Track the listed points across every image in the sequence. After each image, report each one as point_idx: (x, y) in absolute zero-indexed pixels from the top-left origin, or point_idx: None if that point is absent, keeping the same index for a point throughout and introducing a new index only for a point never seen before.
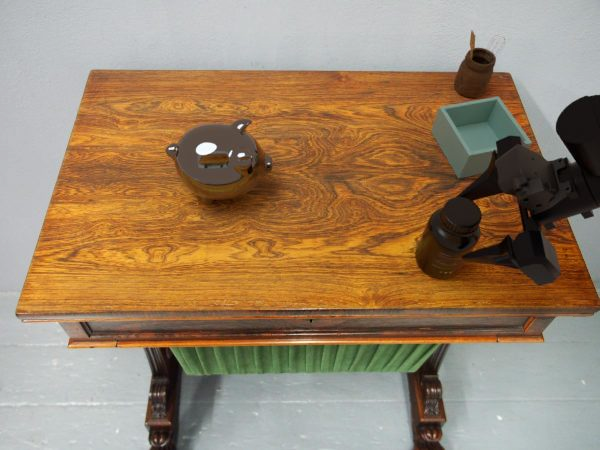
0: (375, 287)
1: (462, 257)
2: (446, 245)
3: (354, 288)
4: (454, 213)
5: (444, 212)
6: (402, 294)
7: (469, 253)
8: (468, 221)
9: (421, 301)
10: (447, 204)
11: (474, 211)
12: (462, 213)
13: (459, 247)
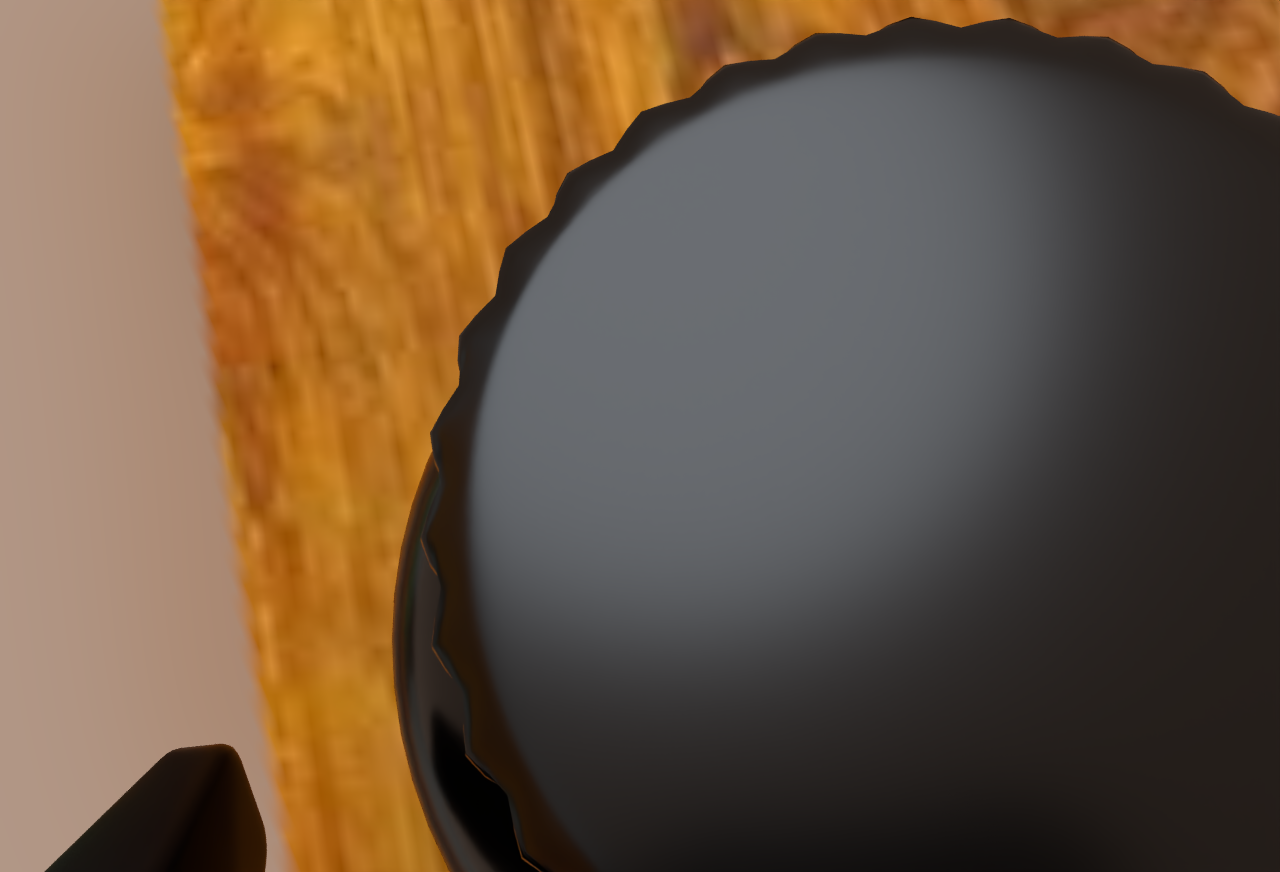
0: (359, 156)
1: (179, 748)
2: (428, 470)
3: (324, 3)
4: (862, 273)
5: (832, 40)
6: (324, 381)
7: (135, 850)
8: (674, 670)
9: (276, 554)
10: (1114, 85)
11: (1109, 858)
12: (921, 486)
13: (403, 692)
